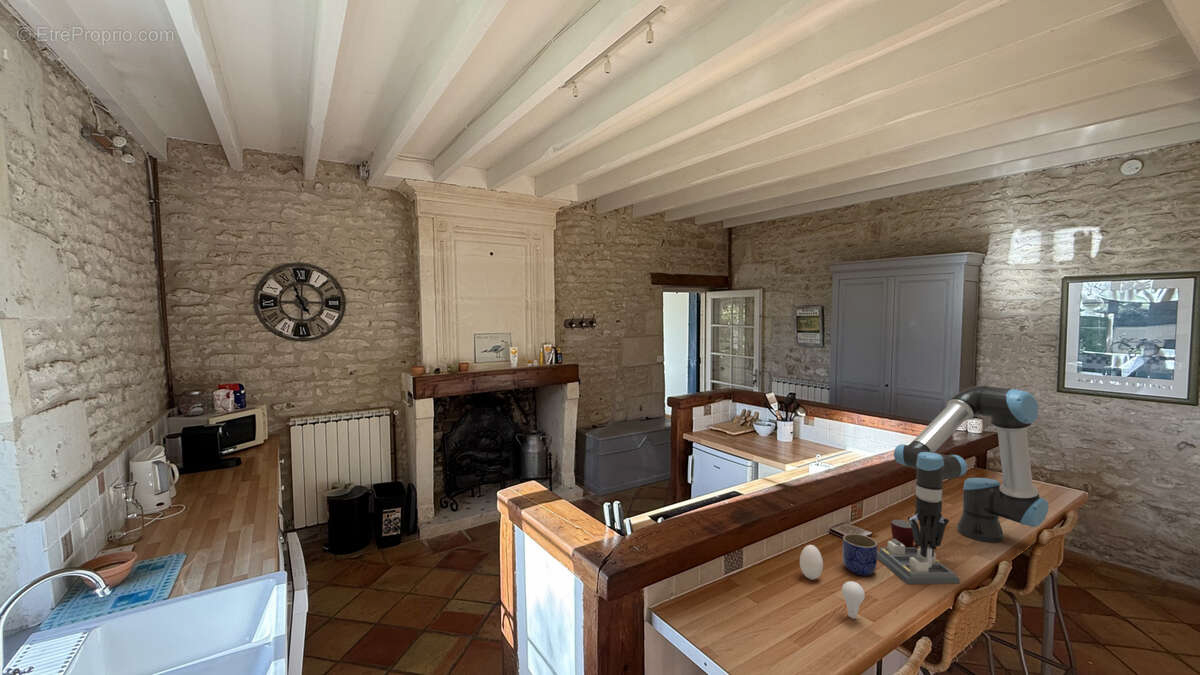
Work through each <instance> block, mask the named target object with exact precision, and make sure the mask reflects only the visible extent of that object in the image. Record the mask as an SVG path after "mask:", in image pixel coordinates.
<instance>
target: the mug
mask: <svg viewBox="0 0 1200 675" xmlns="http://www.w3.org/2000/svg"><path fill="white" fill-rule="evenodd" d="M890 532H891V536H892V539H896V540H897V541H899V542H900V543H902V544H903V545H904V546H905V547H920V546H919V545H917V544H916V543H915V541H914V537H913V532H912V528H911V523H910V522H909V520H903V519H893V520H891V522H890ZM914 543H915V545H914Z"/></svg>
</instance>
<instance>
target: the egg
mask: <svg viewBox="0 0 1200 675" xmlns="http://www.w3.org/2000/svg"><path fill="white" fill-rule="evenodd" d="M823 561H824V560H823V556H822V554H821V552H820V550H819V549H818V547H816V545H813V544H807V545H806V546H805V547H803V549H802V551H801V552H800V556H799V567H800V570H801V573H802V574H803V575H804V576H805V577H806V578H807V579H809V580H816V579H818V578H819V577H821V575H822V572H823V570H824V569H823V568H824V562H823Z"/></svg>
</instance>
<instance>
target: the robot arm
mask: <svg viewBox="0 0 1200 675" xmlns="http://www.w3.org/2000/svg"><path fill="white" fill-rule="evenodd" d="M1038 413H1039V405H1038V401H1037V399H1036V398H1035V396H1034V395H1033V394H1031V392H1029V391H1026V390H1020V389H1016V388H1005V387H996V386H989V385H975V386H971V387H968V388H966V389H964V390H961V391H960V392H958V393H957V394H955V395H954V396H952V397H951V398H950V399H949V400H948V401H947V402H946V407H945V408H944V409H943V410H942V411H941V412H940V413H939V414H938V415H937V416H936V417H935V418H934V419H933V420H932V421H931V422H930V423H929V424H928V425H927V426H926V427H925V428H924V429H923V430H922V431H921V432H920V433H919V434H918V435H917V436H916V437H915V438H914V439H913V440H912V441H911V442H910V443H909V444H904V443H903V444H898V445H897V446H895V448H894V450H893V451H894V452H893V457H894V460H895V462H896V463H897V464H901V465H902V466H905V467H909V468H912V469H916V481H915V485H916V486H915V488H916V489H915V495H916V497H915V509H916V510H915V511H914V515H913V516H911V517H910V516H908V517H907V521H908V522H910V523H911V528H912V532H913V537H914V543H915V544H917V545H919V546H918V547H919V548H921V549H920V554H921V555H922V558H923V559H924V560H925V561H927V562H928V563H929V567H932V557H933V556H934V553H935V550H937V548H938V547H941V544H942V540H943V537H944V533H945V529H946V527H947V525H948V524H949V522H950V521H949V519H947V518H946V517H944V516H943V514H942V511H943V502H942V500H943V483H944V482H943V481H945V480H949V479H956V478H959V477H962V476H964V475H965V474H966V473H967V471H968V464H967V462H966V460H965V459H964V458H962V457H961V456H960V455H957V454H948V455H945V454H942V453H937V452H936V451H937V450H938V449H939V448H940V447H941V446H942V445H943V444H944V443H945V442H946V441H947V440H948V439H949V438H951V436H952V435H953V434H954V432H956V431H957V429H958V428H959V427H961V426H962V424H964V422H966V421H969V420H971V419H973V418H974V417H975V416H984V417H989V418H990V422H991V425H992V426H993V427H994V428H996V430H997V439H998V446H999V448H998V449H999V453H1000V454H999V455H1000V456H999V457H1000V464H1001V473H1002V481H1003V483H1002V484H1001V483H1000V481H999V480H996V479H993V478H989V477H987V478H986V477H970V478H969V477H968V478H967V479H965V480H964V482H963V489H962V490H963V496H962V497H963V498H962V499H963V500H962V503H963V504H962V508H963V509H962V514H961V516H960V518H959V521H958V522H957V526H956V528H957V532H958V533H959V534H961V535H963V536H965V537H967V538H970V539H973V540H975V541H980V542H981V541H982V542H985V543H986V542H987V543H1001V542H1003V541H1004V531H1003V529H1002V525H1001V523H1000V520H999V517H1000V518H1003V519H1006V520H1009V521H1011V522H1012V521H1013V522H1016V523H1018V524H1020V525H1023V526H1028V527H1032V528H1036V527H1038V526H1040V525H1042V523H1043V522H1044V521H1045V519H1046V517H1047V514H1048V512H1049V502H1048V500H1047V499H1045V498H1044V497H1040V491H1039V490H1038V488H1037V487H1036V486H1034V484H1033V475H1032V465H1031V457H1030V448H1029V447H1030V446H1029V439H1028V437H1029V436H1028V430H1027V429H1028V428H1030V427H1031V426H1032V424H1033V423H1034V422H1035V421H1037V418H1038Z"/></svg>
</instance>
